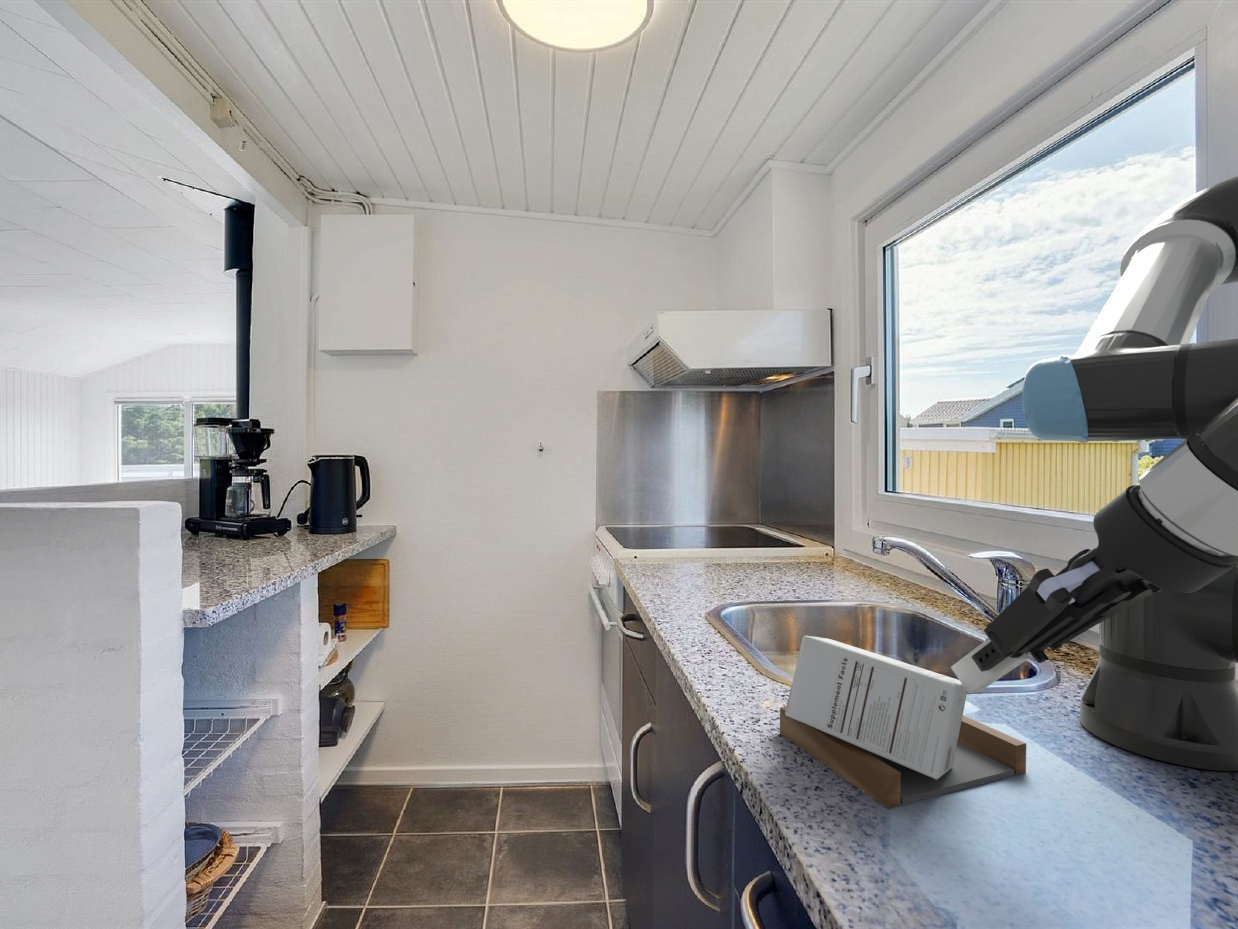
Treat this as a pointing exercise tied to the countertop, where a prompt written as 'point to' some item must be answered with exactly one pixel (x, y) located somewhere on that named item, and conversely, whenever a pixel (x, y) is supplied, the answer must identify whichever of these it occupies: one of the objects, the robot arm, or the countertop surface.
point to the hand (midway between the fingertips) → (965, 679)
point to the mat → (949, 775)
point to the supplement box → (878, 704)
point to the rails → (882, 777)
